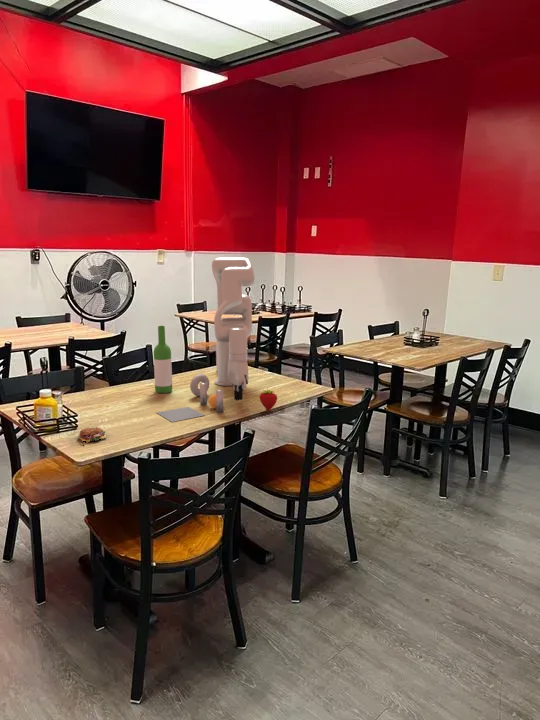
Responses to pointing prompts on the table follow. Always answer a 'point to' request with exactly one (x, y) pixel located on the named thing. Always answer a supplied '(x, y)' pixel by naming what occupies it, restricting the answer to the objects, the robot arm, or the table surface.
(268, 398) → the strawberry
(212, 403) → the ball
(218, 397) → the post
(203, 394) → the post
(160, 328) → the wine bottle
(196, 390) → the donut
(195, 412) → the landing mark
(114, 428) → the table surface
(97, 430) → the hamburger
